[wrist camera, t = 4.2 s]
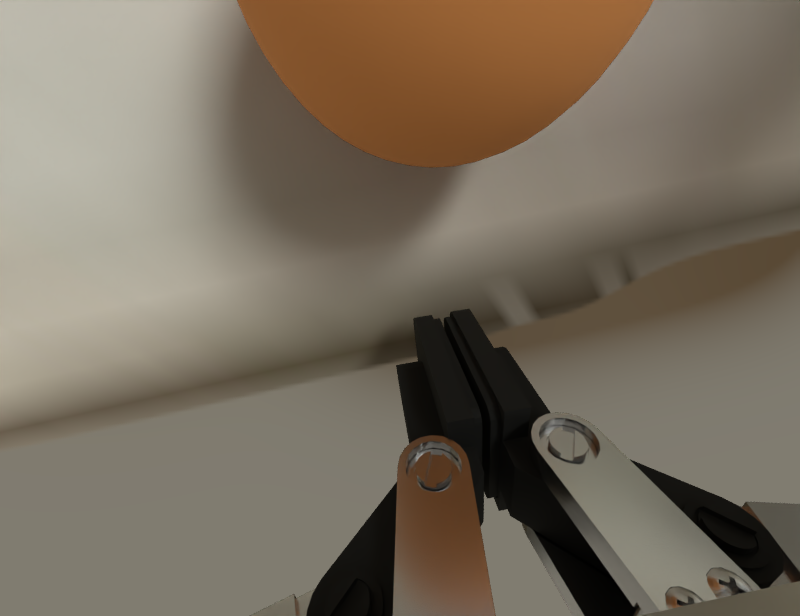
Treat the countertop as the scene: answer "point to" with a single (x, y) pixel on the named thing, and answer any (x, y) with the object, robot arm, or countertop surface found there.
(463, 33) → the ball
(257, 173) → the countertop surface
